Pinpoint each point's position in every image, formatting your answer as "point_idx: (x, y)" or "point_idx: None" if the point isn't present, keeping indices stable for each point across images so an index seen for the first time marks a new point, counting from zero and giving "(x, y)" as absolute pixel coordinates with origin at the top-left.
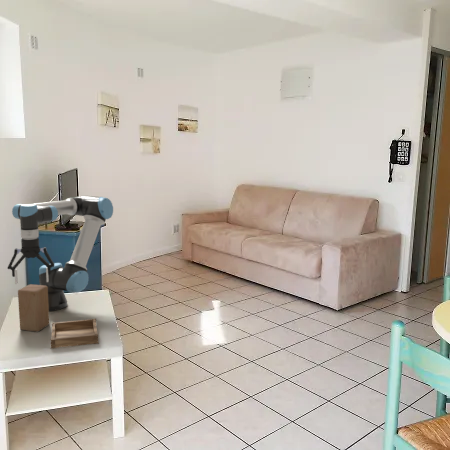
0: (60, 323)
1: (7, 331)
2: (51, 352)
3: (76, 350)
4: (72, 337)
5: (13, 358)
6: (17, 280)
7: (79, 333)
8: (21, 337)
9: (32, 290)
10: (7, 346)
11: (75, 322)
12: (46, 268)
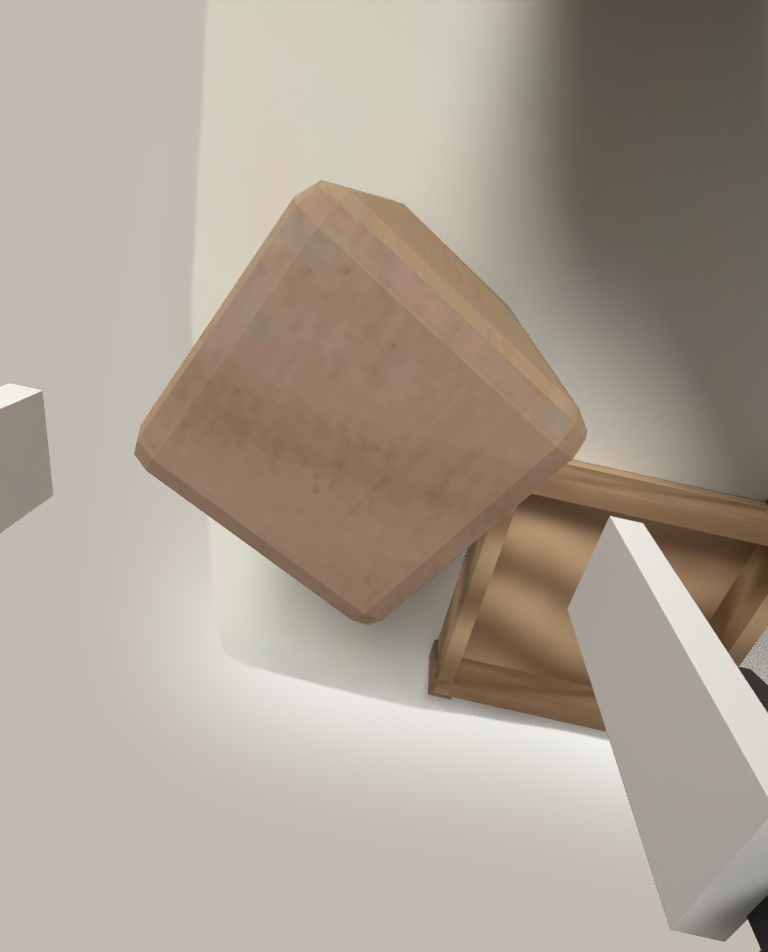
0: (558, 497)
1: (209, 308)
2: (423, 687)
3: (535, 719)
4: (545, 716)
5: (256, 664)
6: (12, 414)
7: None
8: None
9: (326, 582)
10: (224, 538)
11: (664, 519)
12: (697, 915)
